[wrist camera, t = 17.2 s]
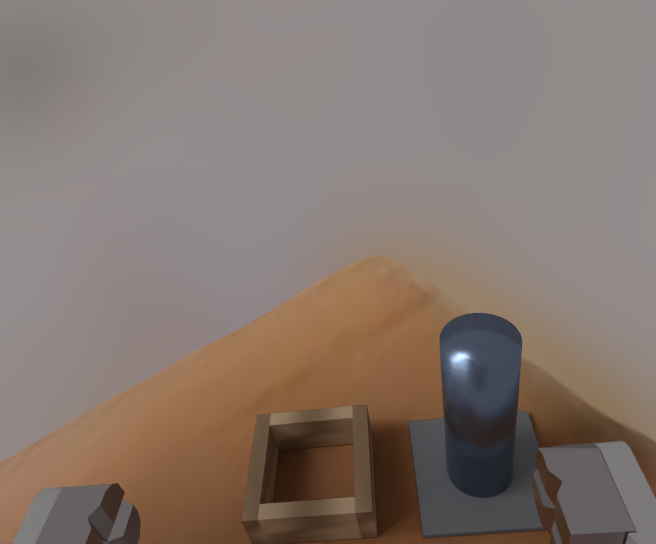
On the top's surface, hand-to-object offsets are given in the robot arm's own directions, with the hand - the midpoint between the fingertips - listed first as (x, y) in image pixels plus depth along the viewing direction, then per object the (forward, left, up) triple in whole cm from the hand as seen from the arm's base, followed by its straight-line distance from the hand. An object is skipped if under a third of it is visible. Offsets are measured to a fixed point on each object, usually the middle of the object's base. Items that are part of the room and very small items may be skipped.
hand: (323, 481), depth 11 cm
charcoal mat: (+7, +19, -30) cm, 36 cm away
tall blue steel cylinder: (+7, +19, -30) cm, 36 cm away
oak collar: (-6, +19, -30) cm, 36 cm away
